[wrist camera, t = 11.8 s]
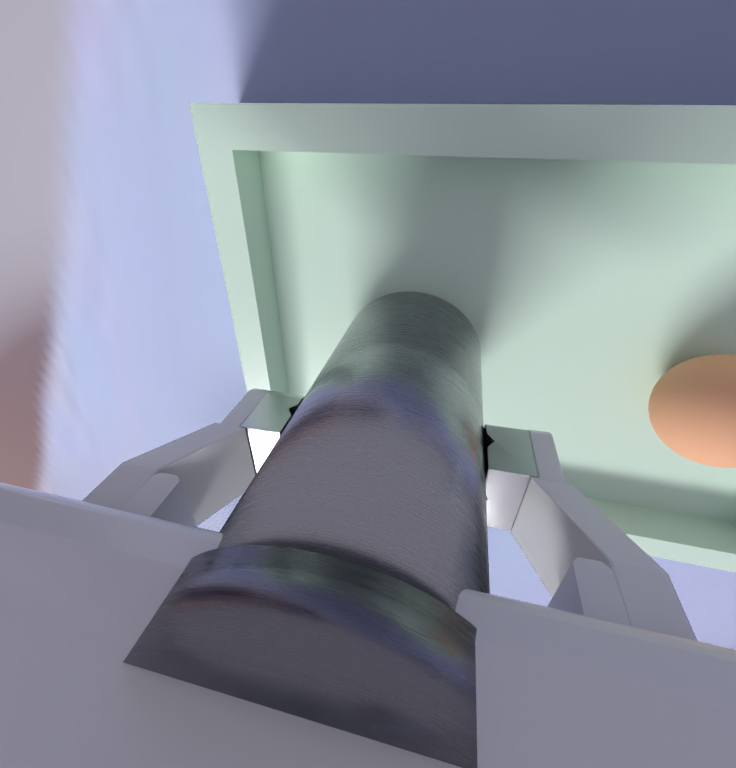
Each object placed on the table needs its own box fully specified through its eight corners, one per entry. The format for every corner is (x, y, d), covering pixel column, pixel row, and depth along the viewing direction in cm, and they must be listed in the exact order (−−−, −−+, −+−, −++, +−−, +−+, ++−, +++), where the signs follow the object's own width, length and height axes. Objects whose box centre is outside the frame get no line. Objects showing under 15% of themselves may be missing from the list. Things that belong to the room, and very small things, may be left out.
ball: (780, 341, 11) (878, 407, 8) (721, 426, 13) (786, 502, 10) (658, 328, 11) (712, 387, 9) (617, 412, 13) (653, 480, 11)
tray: (1093, 113, 8) (1301, 108, 6) (732, 522, 16) (770, 579, 14) (237, 107, 12) (189, 102, 10) (286, 444, 19) (265, 481, 17)
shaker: (501, 292, 11) (589, 772, 3) (473, 424, 14) (474, 859, 6) (337, 278, 12) (35, 608, 4) (341, 404, 15) (175, 754, 6)
